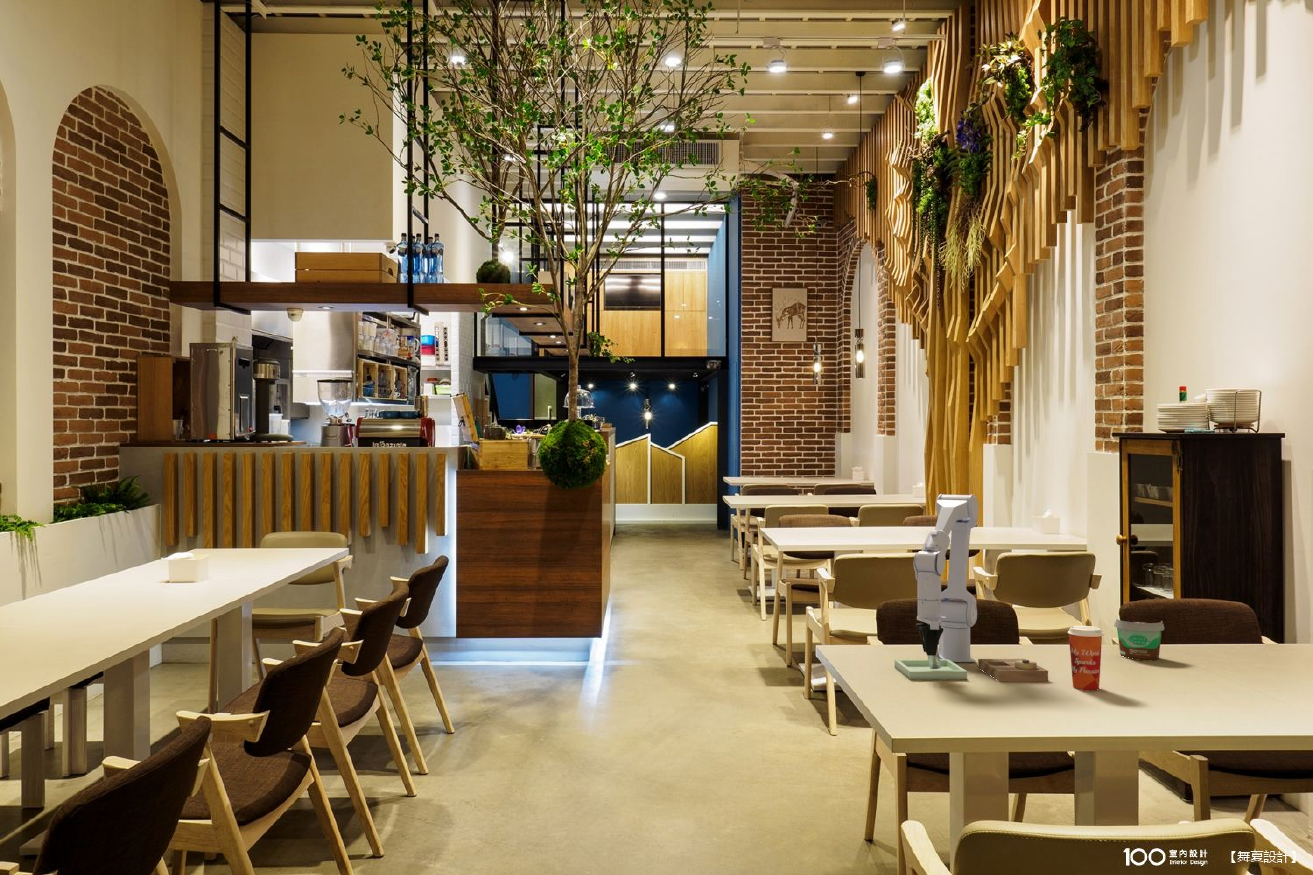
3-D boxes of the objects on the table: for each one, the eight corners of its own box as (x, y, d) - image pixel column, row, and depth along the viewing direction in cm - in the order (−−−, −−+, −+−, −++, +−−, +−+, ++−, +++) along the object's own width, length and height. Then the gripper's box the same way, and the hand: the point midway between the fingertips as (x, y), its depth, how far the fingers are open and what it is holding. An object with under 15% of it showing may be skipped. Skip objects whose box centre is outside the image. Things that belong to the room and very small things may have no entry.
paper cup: (1066, 689, 224) (1066, 629, 225) (1069, 682, 231) (1069, 624, 231) (1103, 693, 221) (1103, 631, 221) (1105, 686, 228) (1104, 626, 228)
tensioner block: (978, 668, 247) (978, 651, 247) (1024, 668, 247) (1024, 651, 247) (998, 681, 233) (998, 663, 233) (1048, 681, 233) (1047, 663, 233)
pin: (926, 667, 243) (921, 636, 243) (941, 665, 243) (936, 634, 243) (929, 670, 239) (924, 638, 240) (944, 668, 239) (939, 636, 240)
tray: (894, 667, 248) (894, 659, 248) (948, 667, 248) (948, 659, 248) (909, 679, 234) (909, 671, 234) (967, 679, 234) (967, 671, 234)
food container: (1118, 659, 257) (1117, 622, 258) (1114, 655, 263) (1114, 618, 263) (1169, 662, 254) (1169, 624, 254) (1164, 658, 260) (1164, 620, 260)
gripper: (951, 603, 234) (952, 659, 234) (940, 595, 248) (940, 648, 248) (921, 603, 235) (922, 659, 234) (912, 594, 249) (912, 647, 249)
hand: (929, 653), depth 241 cm, fingers closed on pin, 3 cm apart
